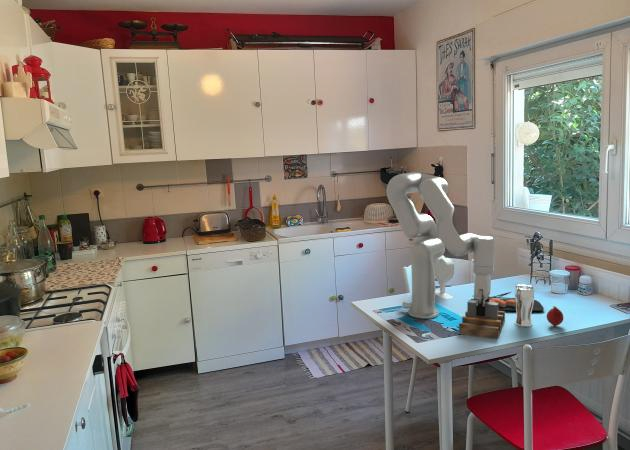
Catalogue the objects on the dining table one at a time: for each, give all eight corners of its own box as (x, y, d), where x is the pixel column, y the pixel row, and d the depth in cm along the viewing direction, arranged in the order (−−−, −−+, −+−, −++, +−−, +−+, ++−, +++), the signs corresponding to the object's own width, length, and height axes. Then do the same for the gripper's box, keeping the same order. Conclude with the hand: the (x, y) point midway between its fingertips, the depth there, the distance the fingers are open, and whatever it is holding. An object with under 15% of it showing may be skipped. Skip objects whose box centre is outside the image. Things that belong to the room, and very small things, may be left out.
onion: (558, 323, 202) (559, 303, 201) (565, 328, 197) (566, 308, 195) (543, 323, 202) (544, 304, 201) (550, 329, 197) (551, 309, 195)
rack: (458, 333, 195) (458, 322, 195) (468, 316, 213) (468, 306, 212) (497, 339, 189) (498, 327, 188) (504, 321, 207) (505, 310, 206)
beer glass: (517, 319, 207) (518, 283, 205) (535, 323, 203) (536, 286, 201) (511, 325, 202) (512, 287, 200) (529, 328, 198) (531, 290, 195)
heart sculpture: (430, 290, 251) (430, 254, 248) (439, 289, 252) (439, 253, 249) (445, 299, 236) (445, 261, 233) (455, 298, 237) (455, 260, 234)
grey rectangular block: (467, 324, 202) (467, 302, 200) (468, 321, 205) (468, 299, 203) (496, 328, 197) (497, 305, 196) (497, 325, 200) (498, 302, 198)
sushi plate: (472, 313, 219) (472, 304, 218) (464, 292, 248) (464, 284, 248) (545, 314, 214) (546, 305, 213) (529, 293, 243) (529, 285, 242)
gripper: (477, 262, 206) (476, 304, 209) (469, 273, 191) (468, 318, 194) (497, 264, 203) (496, 306, 206) (490, 275, 188) (489, 320, 191)
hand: (482, 312), depth 200 cm, fingers open, 9 cm apart
